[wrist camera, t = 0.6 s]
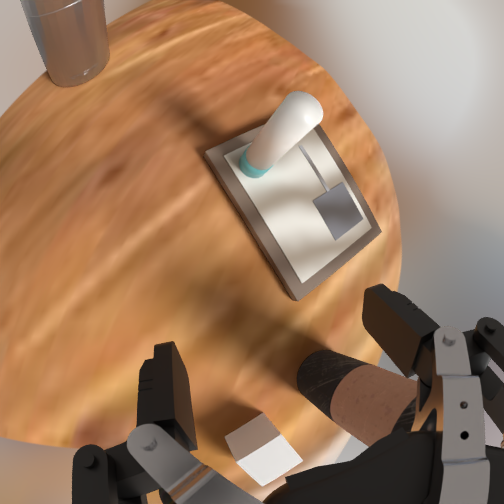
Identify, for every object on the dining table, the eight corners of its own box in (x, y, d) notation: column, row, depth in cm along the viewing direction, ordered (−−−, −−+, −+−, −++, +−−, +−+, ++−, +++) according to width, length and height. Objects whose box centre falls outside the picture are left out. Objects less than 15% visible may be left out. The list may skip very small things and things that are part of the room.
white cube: (223, 436, 30) (235, 462, 24) (262, 411, 32) (281, 433, 26) (248, 461, 31) (262, 486, 25) (284, 438, 32) (303, 460, 27)
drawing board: (203, 156, 32) (205, 150, 30) (302, 112, 36) (308, 106, 35) (292, 300, 34) (299, 301, 32) (374, 233, 38) (383, 231, 37)
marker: (233, 158, 31) (275, 96, 19) (257, 146, 32) (307, 86, 20) (249, 183, 31) (301, 132, 19) (272, 170, 32) (331, 119, 20)
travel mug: (283, 388, 33) (389, 472, 14) (315, 337, 34) (444, 382, 15) (324, 407, 34) (428, 475, 15) (353, 361, 36) (470, 404, 17)
